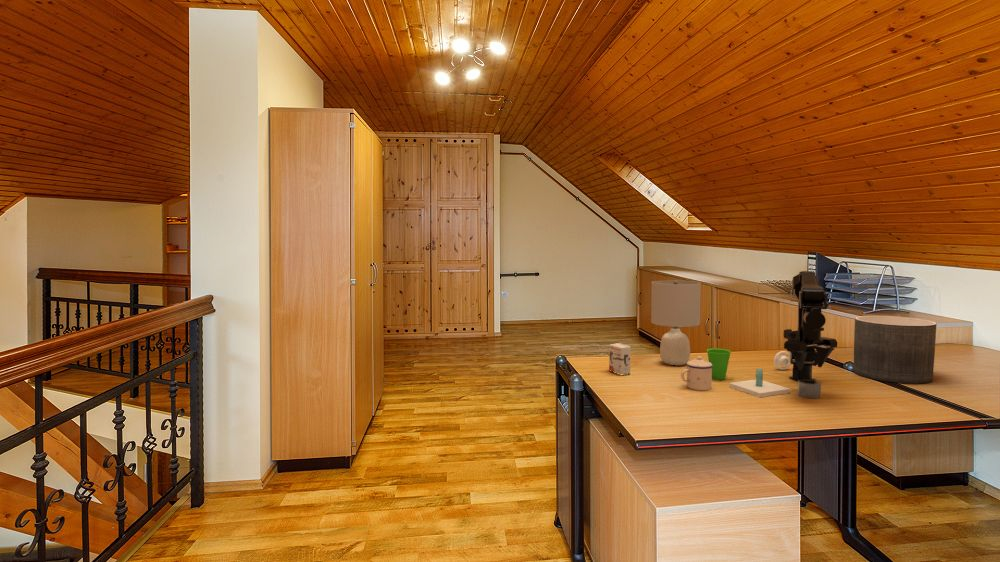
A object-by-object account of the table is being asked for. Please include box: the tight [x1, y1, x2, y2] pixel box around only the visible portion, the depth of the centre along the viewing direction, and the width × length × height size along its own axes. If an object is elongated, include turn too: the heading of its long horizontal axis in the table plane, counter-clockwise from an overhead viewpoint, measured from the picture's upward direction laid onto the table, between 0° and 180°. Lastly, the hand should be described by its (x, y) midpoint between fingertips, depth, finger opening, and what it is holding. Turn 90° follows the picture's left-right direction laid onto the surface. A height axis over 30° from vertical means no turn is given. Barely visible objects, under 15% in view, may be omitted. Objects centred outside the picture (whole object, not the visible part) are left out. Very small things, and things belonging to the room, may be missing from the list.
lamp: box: [650, 280, 702, 367], centre depth 226 cm, size 20×20×37 cm
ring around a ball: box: [773, 350, 792, 371], centre depth 215 cm, size 8×6×8 cm
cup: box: [705, 348, 732, 381], centre depth 203 cm, size 9×9×11 cm
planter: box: [852, 315, 937, 385], centre depth 203 cm, size 25×25×22 cm
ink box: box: [608, 342, 632, 374], centre depth 213 cm, size 9×5×12 cm, turn 25°
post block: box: [728, 368, 791, 398], centre depth 187 cm, size 14×14×8 cm
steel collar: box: [797, 379, 822, 400], centre depth 179 cm, size 6×6×5 cm
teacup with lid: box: [680, 355, 713, 391], centre depth 191 cm, size 12×9×12 cm
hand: (809, 368), depth 179 cm, fingers open, 9 cm apart
